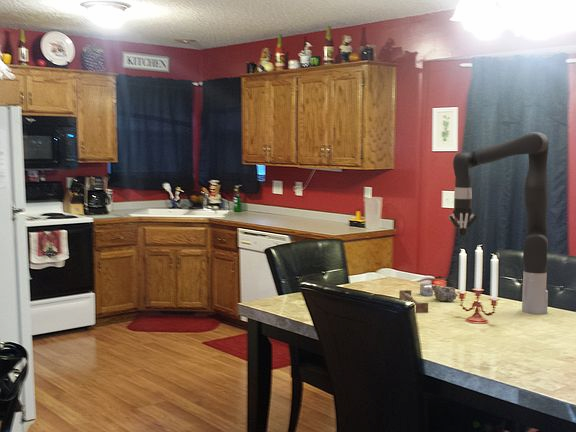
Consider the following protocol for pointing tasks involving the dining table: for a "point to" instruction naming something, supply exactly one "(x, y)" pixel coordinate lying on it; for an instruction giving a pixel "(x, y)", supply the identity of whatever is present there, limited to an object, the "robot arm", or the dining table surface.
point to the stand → (407, 296)
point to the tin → (426, 290)
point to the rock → (444, 293)
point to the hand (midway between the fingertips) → (461, 236)
